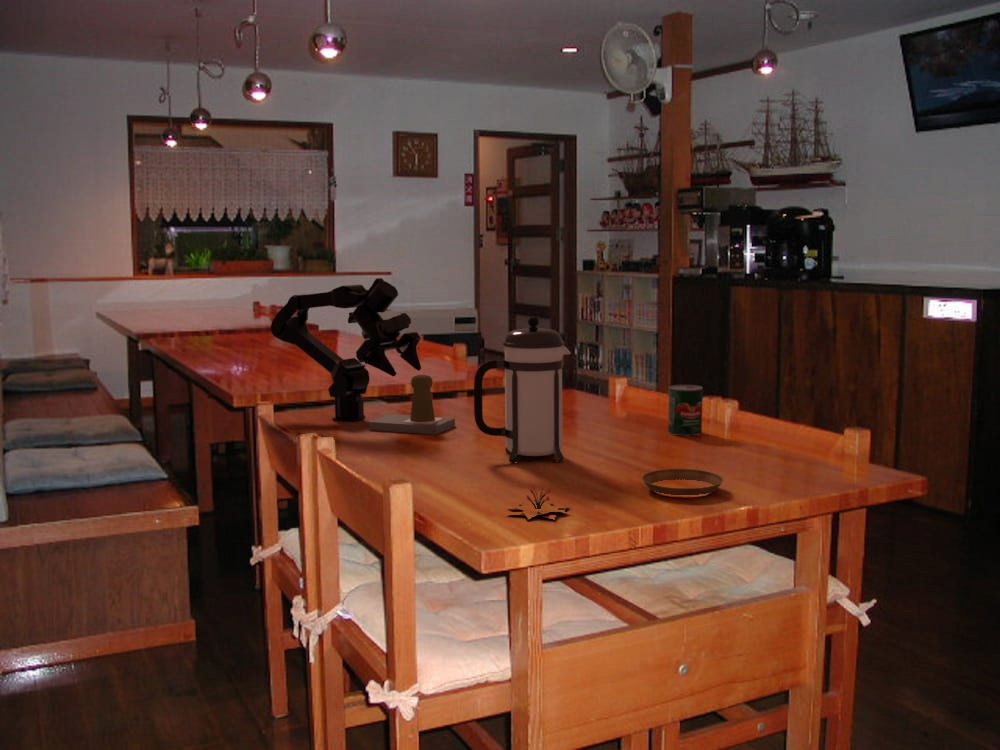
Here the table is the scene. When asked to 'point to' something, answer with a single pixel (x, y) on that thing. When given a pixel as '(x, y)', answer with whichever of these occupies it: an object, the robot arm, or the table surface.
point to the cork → (422, 399)
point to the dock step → (411, 424)
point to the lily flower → (540, 500)
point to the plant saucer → (681, 474)
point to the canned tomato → (685, 410)
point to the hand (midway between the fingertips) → (407, 372)
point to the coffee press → (528, 392)
